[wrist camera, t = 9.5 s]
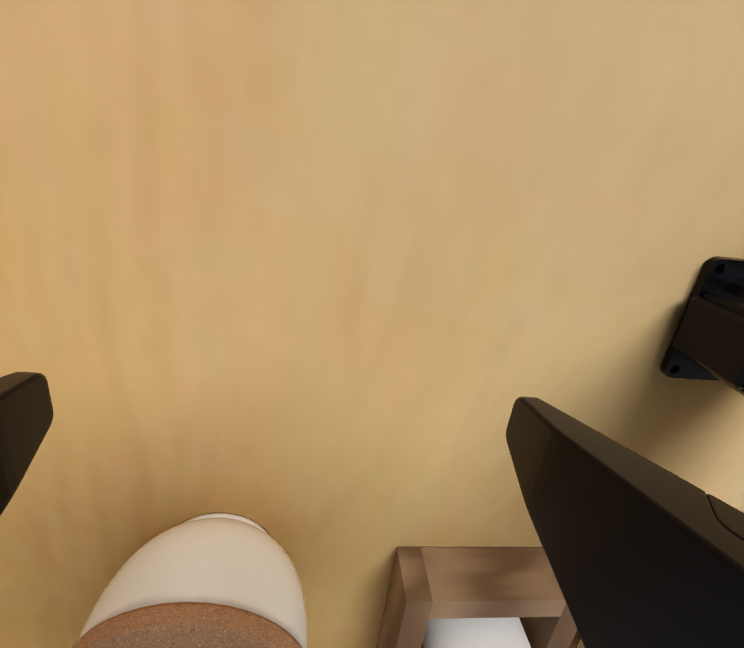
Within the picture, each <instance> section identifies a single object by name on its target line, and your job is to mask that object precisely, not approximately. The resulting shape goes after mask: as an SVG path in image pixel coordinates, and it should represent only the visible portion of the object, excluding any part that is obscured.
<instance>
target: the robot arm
mask: <svg viewBox="0 0 744 648" xmlns="http://www.w3.org/2000/svg"><path fill="white" fill-rule="evenodd" d="M717 266H718V268H717V269H716V270H715V268H716V267H717ZM673 366H674V367H673ZM672 367H673V368H672ZM671 368H672V369H671ZM660 369H661V371H662V372H663V373H664V374H665V375H666V376H668V377H671V378H685V379H702V380H719V381H722V382H724V383H725V384H727V385H728V386H730V387H731V388H733V389H734V390H736V391H737V392H739V393H740V394H742V395H743V396H744V259H737V258H728V257H713V258H711V259H709V260H708V261H707V262H706V263H705V265H704V267H703V269H702V272H701V274H700V276H699V279H698V281H697V283H696V286H695V288H694V290H693V293H692V295H691V297H690V299H689V302H688V304H687V306H686V309H685V311H684V313H683V316H682V318H681V320H680V323H679V325H678V327H677V330H676V332H675V334H674V336H673V339H672V341H671V343H670V346H669V348H668V350H667V353H666V355H665V357H664V360H663V362H662V364H661V368H660ZM52 420H53V407H52V402H51V397H50V392H49V387H48V382H47V379H46V377H45V376H44V375H43V374H41V373H33V372H15V373H12V374H9V375H6V376H3V377H0V515H1V514H2V512H3V511H4V509H5V508H6V506H7V505H8V503H9V502H10V500H11V498H12V497H13V495H14V493H15V491H16V490H17V488H18V486H19V484H20V482H21V481H22V479H23V477H24V475H25V473H26V471H27V469H28V467H29V465H30V463H31V462H32V460H33V458H34V456H35V454H36V452H37V450H38V448H39V446H40V445H41V443H42V441H43V439H44V437H45V435H46V433H47V431H48V429H49V427H50V425H51V423H52ZM506 440H507V444H508V447H509V451H510V454H511V457H512V461H513V464H514V468H515V471H516V474H517V478H518V481H519V485H520V488H521V491H522V495H523V498H524V501H525V504H526V507H527V509H528V512H529V515H530V517H531V520H532V522H533V524H534V527H535V529H536V532H537V534H538V536H539V539H540V541H541V544H542V546H543V548H544V551H545V553H546V556H547V558H548V560H549V563H550V565H551V568H552V570H553V572H554V575H555V577H556V580H557V582H558V584H559V587H560V589H561V592H562V594H563V596H564V599H565V601H566V604H567V606H568V609H569V611H570V613H571V616H572V618H573V621H574V623H575V625H576V628H577V630H578V633H579V635H580V637H581V640H582V642H583V645H584V647H585V648H744V513H743V512H741V511H739V510H737V509H735V508H734V507H732V506H730V505H728V504H726V503H725V502H723V501H721V500H719V499H717V498H716V497H714V496H712V495H710V494H707V495H706V493H705V492H704V491H703V490H701V489H699V488H698V487H696V486H694V485H692V484H691V483H689V482H687V481H685V480H683V479H682V478H680V477H678V476H676V475H674V474H673V473H671V472H669V471H667V470H666V469H664V468H662V467H660V466H658V465H657V464H655V463H653V462H651V461H649V460H648V459H646V458H644V457H642V456H641V455H639V454H637V453H635V452H633V451H632V450H630V449H628V448H626V447H624V446H623V445H621V444H619V443H617V442H616V441H614V440H612V439H610V438H608V437H607V436H605V435H603V434H601V433H599V432H598V431H596V430H594V429H592V428H591V427H589V426H587V425H585V424H583V423H582V422H580V421H578V420H576V419H575V418H573V417H571V416H569V415H567V414H566V413H564V412H562V411H560V410H558V409H557V408H555V407H553V406H551V405H550V404H548V403H546V402H544V401H542V400H541V399H539V398H535V397H519V398H517V399H516V401H515V403H514V405H513V409H512V412H511V416H510V419H509V422H508V426H507V430H506Z"/></svg>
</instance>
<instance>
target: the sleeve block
mask: <svg viewBox="0 0 744 648" xmlns="http://www.w3.org/2000/svg"><path fill="white" fill-rule="evenodd" d="M510 617H519V619H520V621H521V624H522V626H523V629H524V631H525V634H526V636H527V639H528V641H529V644H530V646H531V648H569V646H570V644H571V642H572V640H573V638H574V636H575V634H576V632H577V628H576V625H575V623H574V621H573V618H572V616H571V613H570V611H569V609H568V606H567V604H566V601H565V599H564V596H563V594H562V592H561V589H560V587H559V584H558V582H557V580H556V577H555V575H554V572H553V570H552V568H551V565H550V563H549V560H548V558H547V556H546V553H545V551H544V548H543V547H397V551H396V556H395V561H394V566H393V571H392V576H391V581H390V585H389V590H388V595H387V600H386V605H385V610H384V615H383V620H382V625H381V630H380V635H379V640H378V645H377V648H423V643H422V642H423V638H424V634H425V630H426V627H427V623H428V619H458V618H510Z"/></svg>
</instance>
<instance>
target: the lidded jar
mask: <svg viewBox="0 0 744 648" xmlns="http://www.w3.org/2000/svg"><path fill="white" fill-rule="evenodd" d="M72 648H308V631H307V616H306V606H305V600H304V595H303V590H302V586H301V582H300V579H299V576H298V574H297V571H296V569H295V566H294V565H293V563H292V561H291V559H290V558H289V556H288V555H287V553H286V552H285V550H284V549H283V548H282V547H281V546H280V545H279V543H277V542H276V541H275V540H274V539H273V538H272V537H270V536H269V534H268V533H267V532H266V531H265V529H264V528H262V527H261V526H260V525H259V524H257V523H256V522H254V521H252V520H250V519H248V518H246V517H242V516H239V515H235V514H229V513H210V514H204V515H200V516H196V517H194V518H191V519H189V520H187V521H185V522H184V523H182V524H180V525H177V526H175V527H173V528H171V529H168V530H166V531H164V532H162V533H161V534H159V535H157V536H156V537H154V538H153V539H151V540H150V541H148V542H147V543H145V544H144V545H143V546H142V547H141V548H140V549H138V550H137V551H136V552H135V553H134V554H133V555H132V556H131V557H130V558H129V559H128V560H127V561H126V562H125V563H124V564H123V566H122V567H121V568H120V570H119V571H118V572H117V573H116V575H115V576H114V577H113V579H112V580H111V581H110V583H109V584H108V585H107V587H106V588H105V590H104V591H103V593H102V594H101V596H100V598H99V599H98V601H97V602H96V604H95V606H94V608H93V610H92V612H91V613H90V615H89V617H88V619H87V621H86V623H85V625H84V627H83V629H82V632H81V634H80V636H79V638H78V640H77V642H76V643H75V645H74V646H73V647H72Z"/></svg>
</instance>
